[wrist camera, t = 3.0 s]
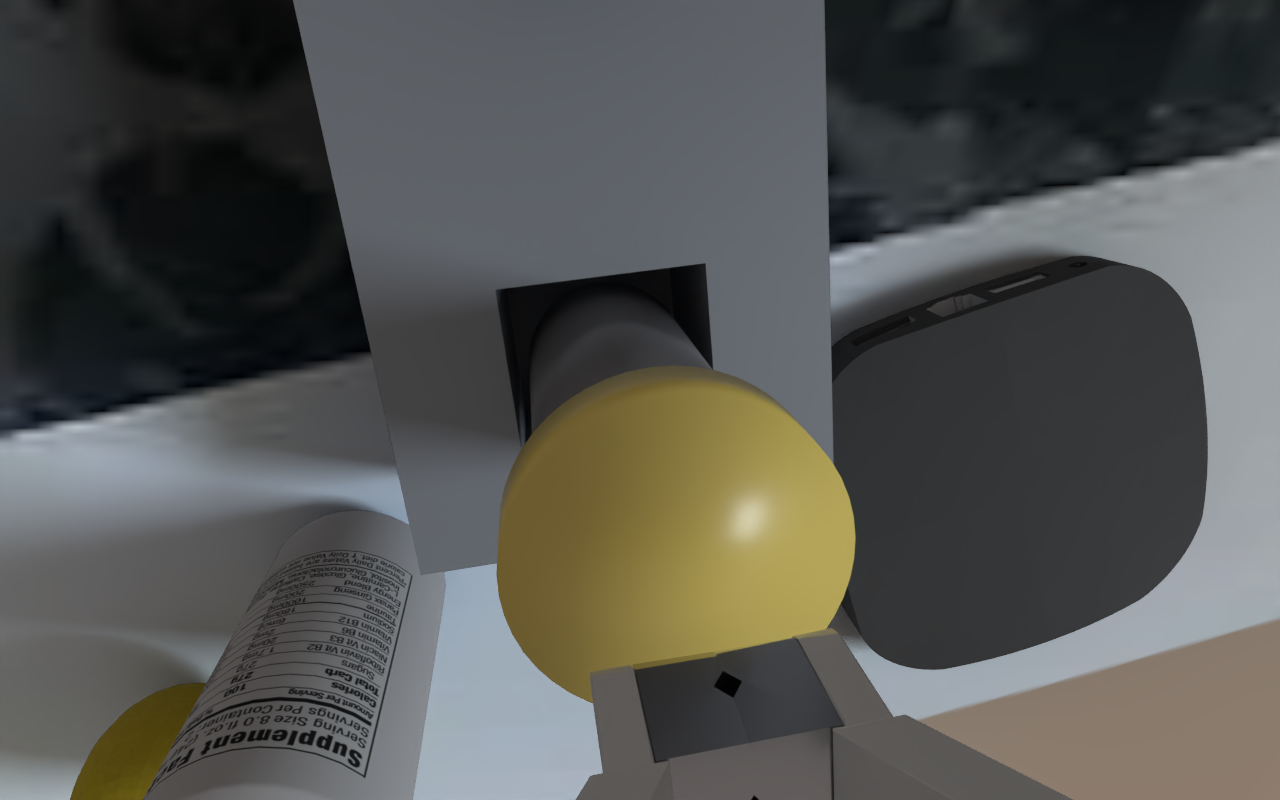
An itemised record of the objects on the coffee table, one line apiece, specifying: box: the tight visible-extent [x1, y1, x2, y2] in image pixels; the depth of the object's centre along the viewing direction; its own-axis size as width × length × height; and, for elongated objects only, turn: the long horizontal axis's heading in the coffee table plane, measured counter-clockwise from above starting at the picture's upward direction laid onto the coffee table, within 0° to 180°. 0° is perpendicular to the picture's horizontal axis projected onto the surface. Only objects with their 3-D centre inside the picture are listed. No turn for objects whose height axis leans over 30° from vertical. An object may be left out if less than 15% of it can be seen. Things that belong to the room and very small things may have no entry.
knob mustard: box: [497, 282, 856, 703], centre depth 18 cm, size 6×6×11 cm
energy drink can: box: [143, 510, 446, 800], centre depth 23 cm, size 6×6×15 cm
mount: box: [293, 0, 834, 575], centre depth 23 cm, size 12×22×7 cm, turn 6°
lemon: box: [70, 683, 206, 800], centre depth 27 cm, size 6×6×8 cm
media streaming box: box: [831, 256, 1208, 670], centre depth 31 cm, size 15×15×3 cm
